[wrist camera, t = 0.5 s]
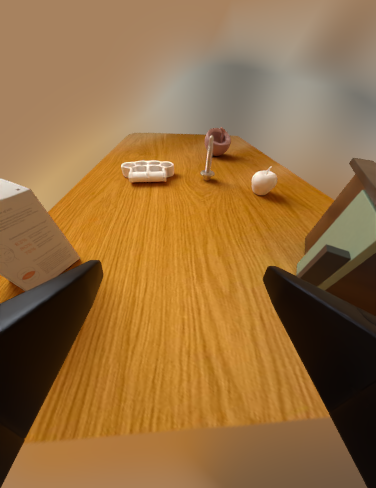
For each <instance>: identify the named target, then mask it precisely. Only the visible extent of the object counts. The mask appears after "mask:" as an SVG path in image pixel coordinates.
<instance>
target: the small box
mask: <svg viewBox="0 0 376 488" xmlns="http://www.w3.org/2000/svg"><path fill="white" fill-rule="evenodd" d="M79 259H80V257H79V255H78V254H77V252H76V251H75V250H74V248H73V247H72V245H71V244H70V243H69V241H68V240H67V238H66V237H65V236H64V234H63V233H62V232H61V230H60V229H59V228H58V226H57V225H56V223H55V222H54V221H53V219H52V218H51V217H50V215H49V214H48V212H47V211H46V210H45V208H44V207H43V206H42V204H41V203H40V202H39V200H38V199H37V197H36V196H35V195H34V193H33V192H32V190H31V189H28V188H26V187H23V186H21V185H18V184H15V183H12V182H9V181H7V180H3V179H0V275H2V276H3V277H5V278H6V279H8V280H9V281H11V282H12V283H14V284H15V285H17V286H18V287H20V288H21V289H23V290H24V291H28V290H30V289H32V288H34V287H36V286H38V285H40V284H42V283H44V282H46V281H48V280H50V279H52V278H55V277H57V276H58V275H59V274H61V273H62V272H63V271H64V270H66V269H67V268H68V267H70V266H71V265H72V264H73V263H75V262H76V261H77V260H79Z"/></svg>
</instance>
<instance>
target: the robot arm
mask: <svg viewBox="0 0 376 488" xmlns="http://www.w3.org/2000/svg"><path fill="white" fill-rule="evenodd" d="M102 279H103V270H102V265H101V262H100V261H99V260H90V261H88V262H86V263H83V264H81V265H79V266H77V267H75V268H73V269H71V270H69V271H67V272H65V273H63V274H61V275H59V276H57V277H55V278H52V279H50V280H48V281H46V282H44V283H42V284H40V285H38V286H36V287H34V288H32V289H30V290H28V291H26V292H24V293H22V294H19V295H17V296H15V297H13V298H11V299H9V300H7V301H5V302H3V303H1V304H0V488H1V486H2V484H3V482H4V480H5V478H6V476H7V474H8V472H9V470H10V468H11V466H12V464H13V462H14V460H15V458H16V456H17V454H18V452H19V450H20V448H21V447H22V445H23V443H24V440H25V438H26V436H27V434H28V432H29V430H30V428H31V426H32V424H33V422H34V420H35V418H36V416H37V414H38V412H39V410H40V408H41V406H42V405H43V403H44V401H45V399H46V397H47V395H48V393H49V391H50V389H51V387H52V385H53V383H54V381H55V379H56V377H57V375H58V373H59V371H60V369H61V367H62V365H63V363H64V361H65V359H66V357H67V355H68V353H69V351H70V349H71V347H72V345H73V343H74V341H75V339H76V337H77V335H78V333H79V331H80V329H81V327H82V325H83V323H84V321H85V319H86V317H87V315H88V313H89V311H90V309H91V307H92V305H93V303H94V300H95V297H96V295H97V292H98V289H99V287H100V284H101V281H102ZM263 282H264V284H265V287H266V289H267V292H268V294H269V297H270V299H271V302H272V304H273V306H274V308H275V310H276V312H277V314H278V316H279V318H280V320H281V322H282V324H283V326H284V328H285V330H286V332H287V333H288V335H289V337H290V339H291V341H292V343H293V345H294V347H295V349H296V351H297V353H298V355H299V357H300V358H301V360H302V362H303V364H304V366H305V368H306V370H307V372H308V374H309V376H310V378H311V380H312V382H313V383H314V385H315V387H316V389H317V391H318V393H319V395H320V397H321V399H322V401H323V403H324V405H325V407H326V408H327V410H328V412H329V415H330V416H331V418H332V420H333V422H334V424H335V426H336V428H337V430H338V432H339V434H340V436H341V438H342V440H343V441H344V443H345V445H346V447H347V449H348V451H349V453H350V455H351V457H352V459H353V461H354V463H355V465H356V467H357V468H358V470H359V472H360V474H361V476H362V478H363V480H364V482H365V484H366V486H367V488H376V316H374V315H372V314H370V313H368V312H366V311H364V310H362V309H360V308H358V307H355V306H354V305H352V304H350V303H348V302H346V301H344V300H342V299H340V298H338V297H336V296H334V295H332V294H330V293H328V292H326V291H324V290H322V289H320V288H318V287H316V286H314V285H312V284H310V283H308V282H306V281H304V280H302V279H301V278H299V277H297V276H295V275H293V274H291V273H289V272H287V271H285V270H283V269H281V268H279V267H276V266H269V267H267V269H266V272H265V274H264V277H263Z"/></svg>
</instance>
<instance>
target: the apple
mask: <svg viewBox="0 0 376 488" xmlns="http://www.w3.org/2000/svg"><path fill="white" fill-rule="evenodd" d="M270 168H271V166H270V167H269V169H268V170H267V171H258V172H257V173H255V174H254V176H253V178H252V182H251V183H252V190H253V192H254V193H255V194H257V195H265V194H267V193H268V192H269V191H270V190H272V189H273V188H274V187H275V185H276V183H277V176H276V174H274V173H273V172H271V171H269V170H270Z"/></svg>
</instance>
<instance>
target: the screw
mask: <svg viewBox="0 0 376 488" xmlns="http://www.w3.org/2000/svg"><path fill="white" fill-rule="evenodd" d="M213 141H214V137H213V136H210V139H209V144H208V145H209V146H208V151H207V152H208V153H207V157H206V158H207V159H206V160H207V161H206V170H203V171H202V172H201V173H200V174H201V175H202V176H203V180H206V181H208V180H210V178H211V177H212V176H214V172H213V171H210V169H211V168H210V167H211V161H212V155H213V154H212V153H213V152H212V151H213Z"/></svg>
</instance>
